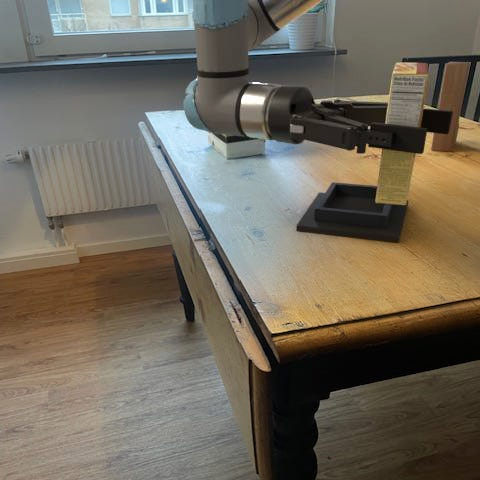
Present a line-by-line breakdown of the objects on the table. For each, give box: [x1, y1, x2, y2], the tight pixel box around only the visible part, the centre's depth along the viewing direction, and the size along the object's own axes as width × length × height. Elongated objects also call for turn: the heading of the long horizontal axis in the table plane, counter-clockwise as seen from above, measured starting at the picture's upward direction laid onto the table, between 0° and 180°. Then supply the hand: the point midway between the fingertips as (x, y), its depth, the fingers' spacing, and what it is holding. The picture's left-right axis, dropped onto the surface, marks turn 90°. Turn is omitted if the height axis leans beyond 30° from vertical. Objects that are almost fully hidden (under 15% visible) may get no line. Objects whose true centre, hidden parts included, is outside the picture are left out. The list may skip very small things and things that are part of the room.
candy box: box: [375, 62, 430, 205], centre depth 63 cm, size 9×4×15 cm, turn 164°
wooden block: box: [430, 61, 471, 153], centre depth 113 cm, size 9×4×18 cm, turn 154°
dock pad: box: [295, 181, 409, 244], centre depth 84 cm, size 16×16×3 cm
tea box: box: [206, 131, 266, 160], centre depth 118 cm, size 15×10×15 cm, turn 21°
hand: (438, 131), depth 60 cm, fingers closed on candy box, 9 cm apart
